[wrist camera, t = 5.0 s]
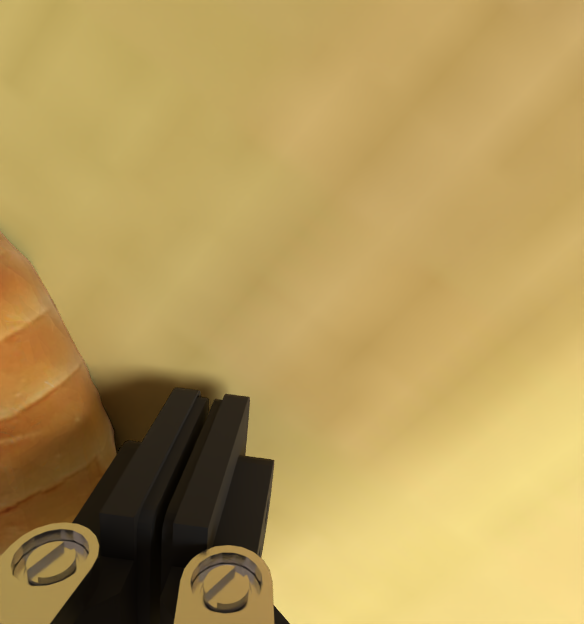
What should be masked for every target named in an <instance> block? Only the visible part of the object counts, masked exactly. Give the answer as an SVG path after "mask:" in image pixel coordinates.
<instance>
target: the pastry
mask: <svg viewBox="0 0 584 624" xmlns="http://www.w3.org/2000/svg"><path fill="white" fill-rule="evenodd" d="M116 455H117V454H116V448H115V442H114V430H113V427H112V425H111V422H110V420H109V418H108V416H107V414H106V412H105V410H104V407H103V405H102V403H101V399H100V395H99V393H98V390H97V388H96V387H95V386H94V384H93V382H92V380H91V377H90V374H89V371H88V369H87V366H86V364H85V361H84V359H83V358H82V356H81V354H80V353H79V351H78V350H77V348H76V346H75V344H74V342H73V340H72V338H71V336H70V334H69V332H68V330H67V328H66V327H65V325H64V323H63V320H62V318H61V316H60V314H59V312H58V310H57V308H56V306H55V304H54V302H53V300H52V299H51V297H50V295H49V293H48V291H47V289H46V288H45V286H44V284H43V283H42V281H41V279H40V277H39V276H38V274H37V272H36V271H35V269H34V267H33V266H32V264H31V262H30V261H29V260H28V259H27V258H26V257H25V256H24V255H23V254H21V253H20V252H19V251H18V250H17V249H16V248H15V247H14V246H13V245H12V244H11V243H10V242H9V241H8V240H7V238H6V237H5V236H4V235H3V234H2V233H1V231H0V556H1V555H2V554H3V553H4V552H5V551H6V550H7V549H8V548H9V547H10V546H11V545H12V544H13V543H14V542H15V541H16V540H18V539H19V538H20V537H21V536H23V535H24V534H26V533H28V532H30V531H32V530H34V529H36V528H39V527H42V526H45V525H49V524H54V523H64V522H67V523H72V522H73V520H74V519H75V517H76V516H77V514H78V513H79V511H80V510H81V508H82V507H83V505H84V504H85V502H86V501H87V499H88V498H89V496H90V495H91V493H92V492H93V490H94V488H95V487H96V485H97V484H98V482H99V481H100V479H101V478H102V476H103V475H104V473H105V472H106V470H107V469H108V467H109V466H110V464H111V463H112V461H113V459H114V458H115V456H116Z"/></svg>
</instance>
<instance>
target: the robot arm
mask: <svg viewBox="0 0 584 624" xmlns="http://www.w3.org/2000/svg"><path fill="white" fill-rule="evenodd" d="M249 405H250V398H249V397H246V396H238V395H230V394H225V395H224V398H223V400H219V399H215V400H214V402H213V404H212V407H211V409H210V411H209V414H208V410H209V399H208V398H203V397H201V392H200V391H199V390H192V389H184V388H174V390H173V391H172V393H171V395H170V396H169V398H168V400H167V401H166V403H165V405H164V406H163V408H162V410H161V411H160V413H159V415H158V416H157V418H156V420H155V421H154V423H153V425H152V426H151V428H150V430H149V431H148V433H147V435H146V436H145V438H144V440H143V441H142V442H137V441H127V442H125V443H124V445H123V446H122V447H121V449H120V450H119V452H118V453H117V455H116V456H115V458H114V459H113V461H112V463H111V464H110V466H109V467H108V469H107V470H106V472H105V473H104V475H103V476H102V478H101V479H100V481H99V482H98V484H97V485H96V487H95V488H94V490H93V492H92V493H91V495H90V496H89V498H88V499H87V501H86V502H85V504H84V505H83V507H82V508H81V510H80V511H79V513H78V514H77V516H76V517H75V519H74V520H73V522H72V523H67V522H64V523H54V524H49V525H45V526H42V527H39V528H36V529H34V530H32V531H30V532H28V533H26V534H24V535H23V536H21V537H20V538H19V539H18V540H16V541H15V542H14V543H13V544H12V545H11V546H10V547H9V548H8V549H7V550H6V551H5V552H4V553H3V554H2V555H1V556H0V624H290V623H289V622H288V621H287V620H286V619H285V618H284V616H283V615H282V614H281V613H280V612H279V611H278V610H277V608H276V607H275V606H274V605H273V583H272V577H271V573H270V570H269V568H268V566H267V565H266V563H265V562H264V560H263V559H262V558H261V556H262V550H263V544H264V538H265V532H266V525H267V519H268V512H269V504H270V496H271V488H272V479H273V470H274V460H271V459H264V458H256V457H249V456H245V453H246V441H247V429H248V417H249Z"/></svg>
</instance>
